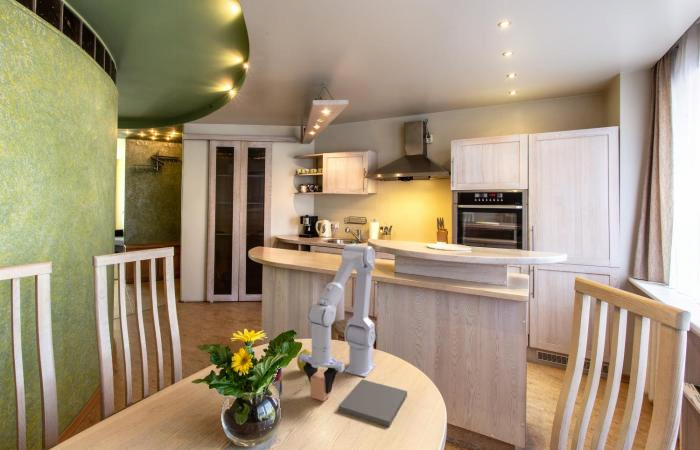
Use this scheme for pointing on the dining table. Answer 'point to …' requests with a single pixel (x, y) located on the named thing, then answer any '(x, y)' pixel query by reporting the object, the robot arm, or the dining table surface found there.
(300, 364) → the lemon
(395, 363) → the dining table surface
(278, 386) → the energy drink
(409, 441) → the dining table surface
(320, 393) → the terracotta block
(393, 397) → the shelf board
